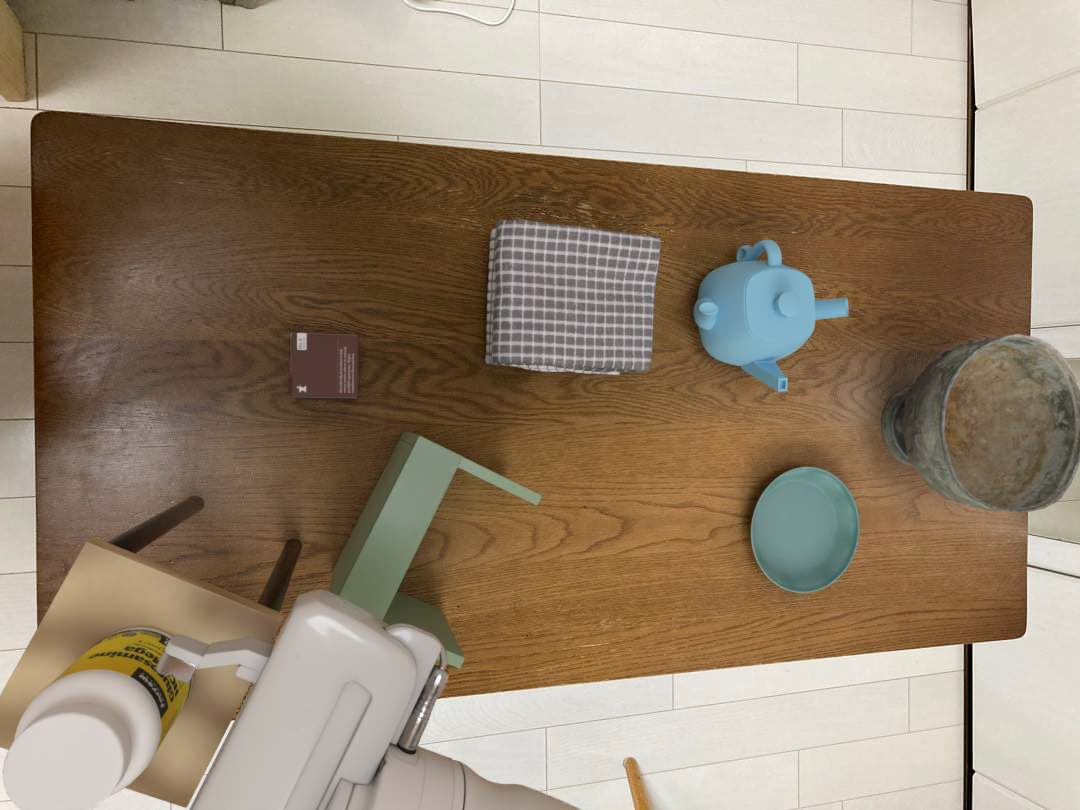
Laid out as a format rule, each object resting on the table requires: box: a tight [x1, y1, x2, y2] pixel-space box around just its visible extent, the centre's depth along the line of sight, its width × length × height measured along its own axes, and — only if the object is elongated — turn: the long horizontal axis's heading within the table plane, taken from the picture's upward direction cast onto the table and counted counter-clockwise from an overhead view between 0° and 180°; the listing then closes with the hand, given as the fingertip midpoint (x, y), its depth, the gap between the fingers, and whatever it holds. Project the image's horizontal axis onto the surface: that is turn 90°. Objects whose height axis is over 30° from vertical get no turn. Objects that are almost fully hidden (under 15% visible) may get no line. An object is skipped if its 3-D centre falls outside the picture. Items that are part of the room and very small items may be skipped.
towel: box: [484, 218, 662, 376], centre depth 74 cm, size 15×18×8 cm
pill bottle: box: [2, 627, 193, 810], centre depth 36 cm, size 6×6×11 cm
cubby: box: [329, 430, 543, 669], centre depth 66 cm, size 16×12×16 cm
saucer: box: [750, 466, 861, 594], centre depth 84 cm, size 15×15×3 cm
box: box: [289, 331, 360, 402], centre depth 68 cm, size 6×6×7 cm
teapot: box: [693, 239, 850, 392], centre depth 78 cm, size 15×14×11 cm
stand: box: [0, 537, 285, 809], centre depth 42 cm, size 12×12×2 cm
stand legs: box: [106, 495, 303, 612], centre depth 56 cm, size 12×12×26 cm
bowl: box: [881, 333, 1080, 513], centre depth 82 cm, size 20×19×15 cm
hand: (116, 741), depth 34 cm, fingers open, 8 cm apart
